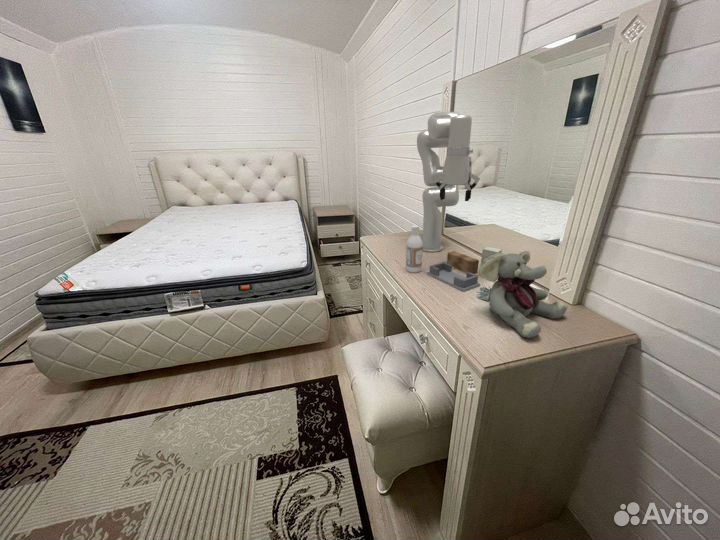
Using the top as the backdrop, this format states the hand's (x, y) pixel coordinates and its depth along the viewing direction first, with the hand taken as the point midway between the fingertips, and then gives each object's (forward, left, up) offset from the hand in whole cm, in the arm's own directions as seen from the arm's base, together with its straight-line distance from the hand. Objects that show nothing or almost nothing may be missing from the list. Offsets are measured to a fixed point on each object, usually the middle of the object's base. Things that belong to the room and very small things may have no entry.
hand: (454, 200), depth 115 cm
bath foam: (-11, -10, -31) cm, 35 cm away
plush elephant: (+34, -6, -31) cm, 47 cm away
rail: (+6, -4, -31) cm, 32 cm away
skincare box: (+12, +10, -31) cm, 35 cm away
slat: (0, +8, -31) cm, 32 cm away
